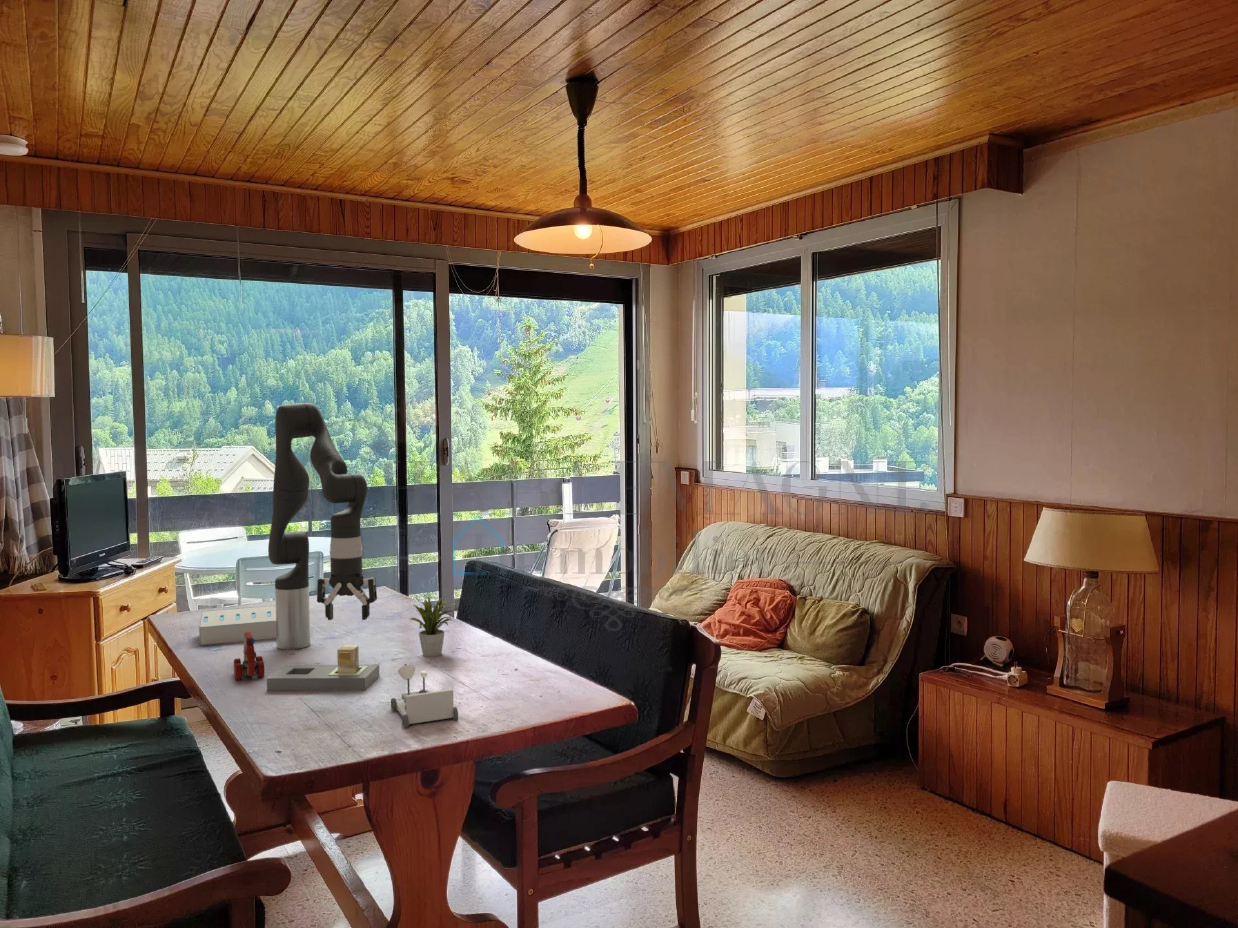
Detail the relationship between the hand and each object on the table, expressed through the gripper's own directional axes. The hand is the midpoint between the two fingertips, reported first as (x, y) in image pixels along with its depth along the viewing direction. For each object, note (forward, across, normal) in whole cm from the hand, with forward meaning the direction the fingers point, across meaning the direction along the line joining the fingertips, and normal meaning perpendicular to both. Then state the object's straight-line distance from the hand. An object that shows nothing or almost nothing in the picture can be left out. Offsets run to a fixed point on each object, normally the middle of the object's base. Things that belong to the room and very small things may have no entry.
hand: (347, 619), depth 223 cm
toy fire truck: (+17, +28, -7) cm, 33 cm away
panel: (+16, +6, 0) cm, 17 cm away
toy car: (+16, -24, +23) cm, 37 cm away
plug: (+16, 0, 0) cm, 16 cm away
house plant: (+16, -15, -26) cm, 34 cm away
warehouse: (+18, +45, -51) cm, 70 cm away
